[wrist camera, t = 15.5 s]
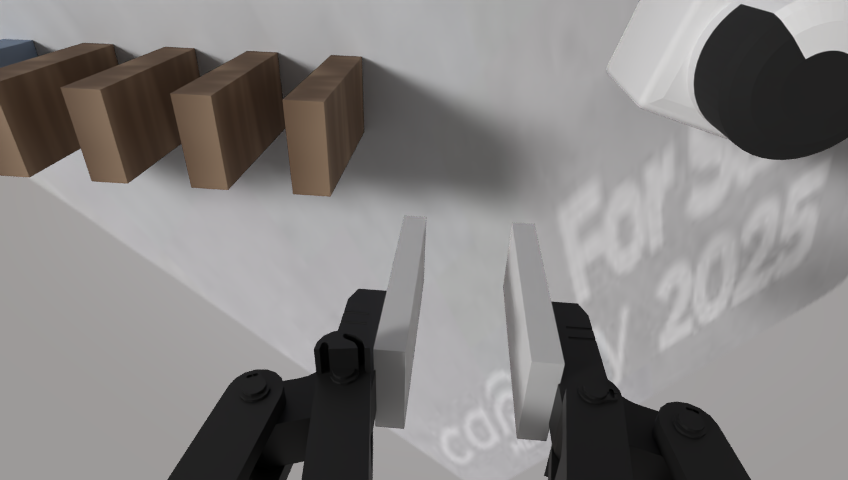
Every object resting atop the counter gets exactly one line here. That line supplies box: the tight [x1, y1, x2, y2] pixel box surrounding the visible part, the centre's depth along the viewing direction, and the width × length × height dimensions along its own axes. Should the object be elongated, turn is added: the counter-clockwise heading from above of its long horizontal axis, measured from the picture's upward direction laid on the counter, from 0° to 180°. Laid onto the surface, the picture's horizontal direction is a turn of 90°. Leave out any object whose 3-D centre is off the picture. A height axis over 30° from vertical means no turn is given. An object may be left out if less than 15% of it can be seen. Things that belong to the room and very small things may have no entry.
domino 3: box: [170, 51, 286, 190], centre depth 30 cm, size 2×5×10 cm, turn 178°
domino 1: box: [0, 43, 118, 177], centre depth 31 cm, size 2×5×10 cm, turn 178°
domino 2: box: [61, 47, 200, 183], centre depth 31 cm, size 2×5×10 cm, turn 178°
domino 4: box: [282, 55, 364, 196], centre depth 30 cm, size 2×5×10 cm, turn 178°
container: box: [606, 0, 848, 160], centre depth 25 cm, size 8×8×13 cm
